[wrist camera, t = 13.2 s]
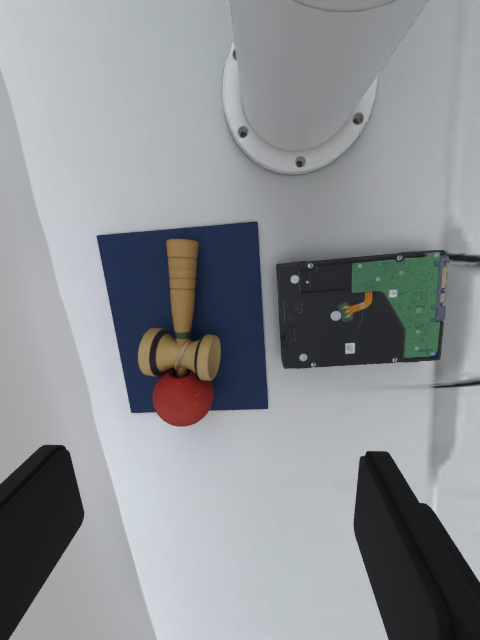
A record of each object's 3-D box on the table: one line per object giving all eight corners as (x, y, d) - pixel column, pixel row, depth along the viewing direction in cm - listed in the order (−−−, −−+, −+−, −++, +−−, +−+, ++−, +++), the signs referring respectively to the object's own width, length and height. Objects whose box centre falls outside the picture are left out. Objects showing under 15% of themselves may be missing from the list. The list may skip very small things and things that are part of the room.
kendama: (145, 245, 29) (149, 411, 31) (128, 233, 22) (134, 442, 24) (220, 247, 29) (219, 408, 32) (224, 236, 23) (222, 438, 25)
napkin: (98, 235, 28) (96, 235, 27) (257, 221, 26) (257, 221, 26) (132, 411, 33) (131, 413, 32) (267, 407, 31) (267, 408, 31)
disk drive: (281, 360, 30) (426, 350, 28) (283, 371, 27) (443, 361, 26) (274, 263, 27) (433, 247, 26) (275, 265, 25) (453, 247, 23)
